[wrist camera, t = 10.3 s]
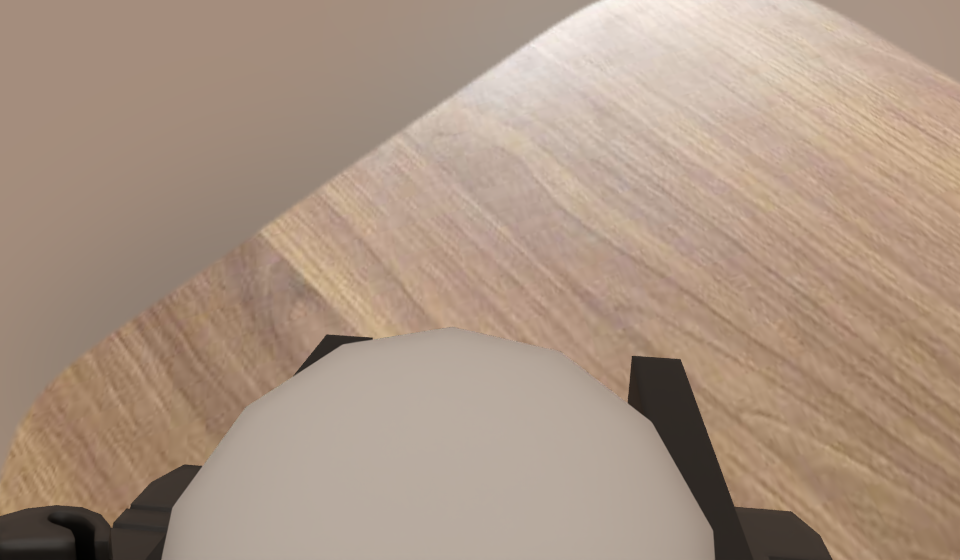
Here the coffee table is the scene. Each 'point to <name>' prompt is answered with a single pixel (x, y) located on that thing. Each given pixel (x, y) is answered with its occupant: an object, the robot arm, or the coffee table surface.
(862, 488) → the coffee table surface
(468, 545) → the salt shaker
